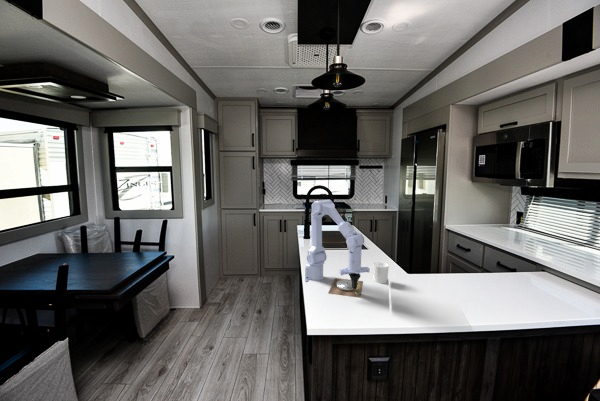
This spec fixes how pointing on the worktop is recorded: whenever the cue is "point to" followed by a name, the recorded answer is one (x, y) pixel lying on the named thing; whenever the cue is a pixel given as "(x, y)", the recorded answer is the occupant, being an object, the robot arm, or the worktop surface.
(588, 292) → the worktop surface
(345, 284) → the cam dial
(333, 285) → the brown flat rectangular slab
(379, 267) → the white cup
